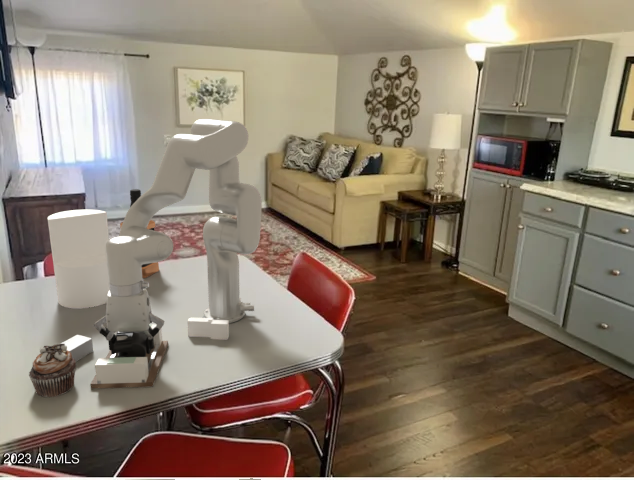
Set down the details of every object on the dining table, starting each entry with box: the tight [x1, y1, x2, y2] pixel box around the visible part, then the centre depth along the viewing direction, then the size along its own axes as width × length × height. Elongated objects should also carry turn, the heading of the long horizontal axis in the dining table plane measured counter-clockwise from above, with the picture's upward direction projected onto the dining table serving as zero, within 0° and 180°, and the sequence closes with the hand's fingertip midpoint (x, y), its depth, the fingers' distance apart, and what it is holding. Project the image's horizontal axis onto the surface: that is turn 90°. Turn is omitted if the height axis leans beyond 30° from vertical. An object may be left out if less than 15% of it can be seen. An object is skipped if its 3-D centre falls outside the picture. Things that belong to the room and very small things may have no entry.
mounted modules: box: [94, 323, 163, 384], centre depth 123 cm, size 11×20×5 cm, turn 6°
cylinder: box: [46, 208, 110, 309], centre depth 158 cm, size 17×17×28 cm
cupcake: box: [28, 343, 77, 398], centre depth 112 cm, size 10×10×10 cm
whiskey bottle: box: [119, 188, 160, 279], centre depth 180 cm, size 10×10×32 cm
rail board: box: [89, 340, 169, 389], centre depth 123 cm, size 14×20×1 cm
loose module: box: [60, 334, 94, 362], centre depth 126 cm, size 5×8×4 cm, turn 159°
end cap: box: [114, 332, 147, 358], centre depth 122 cm, size 10×7×7 cm
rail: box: [97, 344, 160, 384], centre depth 123 cm, size 11×20×1 cm, turn 6°
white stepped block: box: [187, 317, 230, 340], centre depth 138 cm, size 15×11×6 cm
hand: (132, 351), depth 123 cm, fingers closed on end cap, 7 cm apart
